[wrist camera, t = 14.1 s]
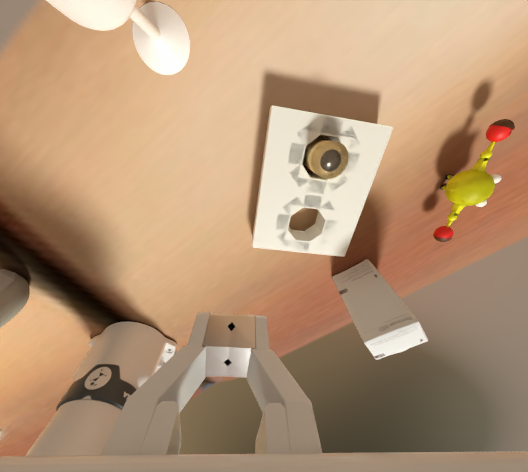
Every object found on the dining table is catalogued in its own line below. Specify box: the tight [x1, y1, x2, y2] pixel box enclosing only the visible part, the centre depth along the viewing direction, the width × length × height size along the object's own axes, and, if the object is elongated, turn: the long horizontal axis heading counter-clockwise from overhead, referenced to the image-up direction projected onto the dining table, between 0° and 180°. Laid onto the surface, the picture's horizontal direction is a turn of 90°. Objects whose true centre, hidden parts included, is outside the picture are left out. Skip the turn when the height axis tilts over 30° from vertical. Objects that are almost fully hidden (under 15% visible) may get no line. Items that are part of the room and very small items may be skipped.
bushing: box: [302, 139, 349, 179], centre depth 28 cm, size 4×4×7 cm
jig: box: [252, 105, 393, 257], centre depth 32 cm, size 20×16×4 cm
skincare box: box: [332, 259, 428, 359], centre depth 36 cm, size 8×6×15 cm
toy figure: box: [433, 119, 515, 242], centre depth 31 cm, size 18×6×7 cm, turn 174°
